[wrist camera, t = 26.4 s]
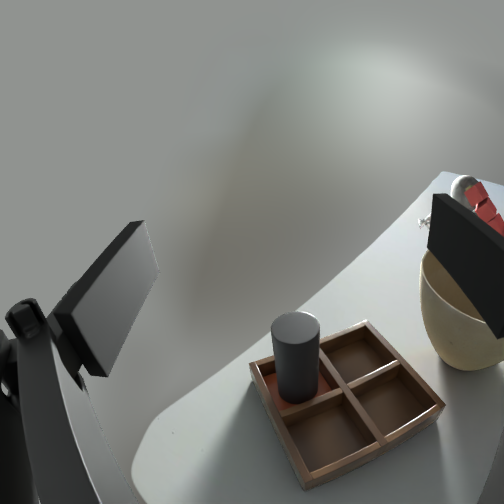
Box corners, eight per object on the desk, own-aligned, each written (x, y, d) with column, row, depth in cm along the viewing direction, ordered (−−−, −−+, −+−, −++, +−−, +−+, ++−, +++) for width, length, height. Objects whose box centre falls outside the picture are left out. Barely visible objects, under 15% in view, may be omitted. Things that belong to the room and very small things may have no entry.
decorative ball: (443, 203, 76) (446, 170, 72) (469, 203, 75) (472, 171, 70) (459, 217, 68) (463, 181, 63) (486, 216, 66) (490, 181, 62)
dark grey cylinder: (286, 410, 30) (281, 350, 26) (272, 381, 34) (264, 319, 30) (324, 395, 31) (328, 333, 27) (307, 368, 35) (306, 306, 31)
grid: (304, 491, 22) (304, 483, 21) (251, 379, 36) (248, 363, 35) (437, 419, 25) (446, 404, 24) (364, 336, 40) (367, 319, 38)
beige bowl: (423, 415, 27) (459, 340, 21) (391, 314, 42) (401, 242, 37) (533, 381, 24) (573, 309, 18) (485, 301, 40) (503, 235, 34)
